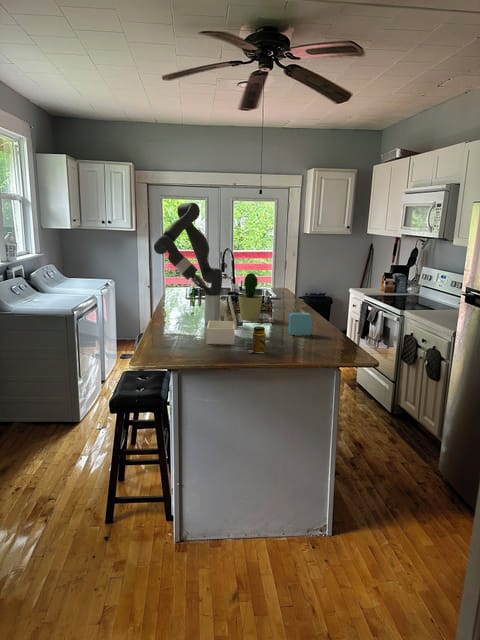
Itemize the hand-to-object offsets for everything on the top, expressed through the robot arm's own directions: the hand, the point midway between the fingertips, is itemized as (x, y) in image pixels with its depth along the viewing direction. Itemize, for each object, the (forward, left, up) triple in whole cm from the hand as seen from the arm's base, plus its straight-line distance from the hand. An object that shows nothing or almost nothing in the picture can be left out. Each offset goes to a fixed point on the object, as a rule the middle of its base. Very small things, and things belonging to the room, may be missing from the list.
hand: (210, 292), depth 229 cm
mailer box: (-2, +6, -25) cm, 25 cm away
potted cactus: (-57, +4, -25) cm, 62 cm away
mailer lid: (-4, +11, -9) cm, 15 cm away
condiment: (+12, +30, -25) cm, 40 cm away
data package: (-30, +42, -25) cm, 57 cm away
